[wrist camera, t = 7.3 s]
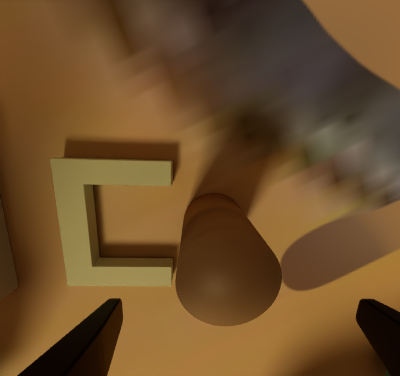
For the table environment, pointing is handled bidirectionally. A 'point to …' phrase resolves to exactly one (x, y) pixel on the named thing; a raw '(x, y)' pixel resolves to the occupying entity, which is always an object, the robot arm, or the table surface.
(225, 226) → the brown piece
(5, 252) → the backstop wall
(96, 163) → the bracket
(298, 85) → the table surface
